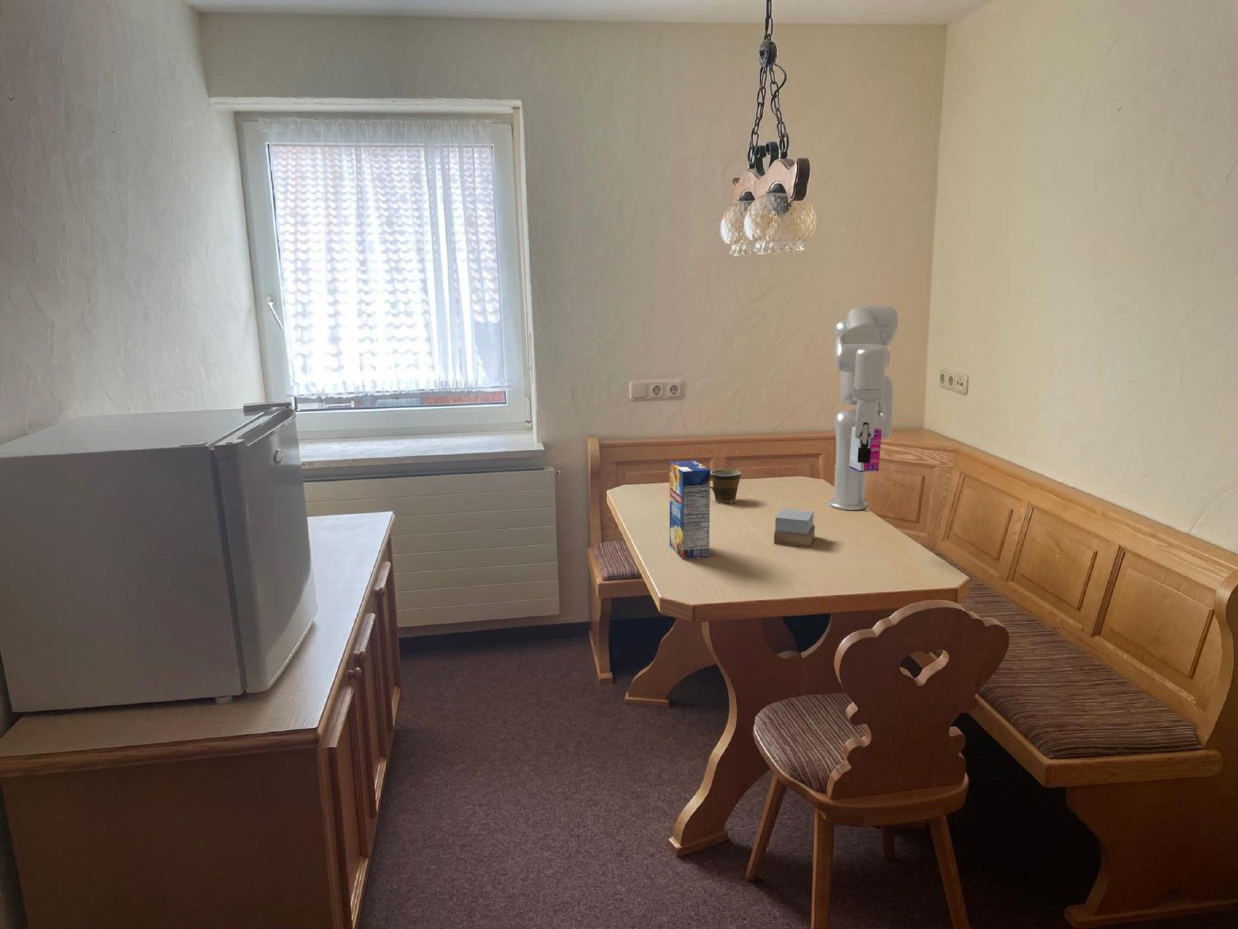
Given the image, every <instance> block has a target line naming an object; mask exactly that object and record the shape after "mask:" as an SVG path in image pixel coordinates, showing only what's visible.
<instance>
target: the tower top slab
mask: <svg viewBox="0 0 1238 929" xmlns="http://www.w3.org/2000/svg"><path fill="white" fill-rule="evenodd" d="M774 522H775V525H774V526H775V527H774V528H775V530H774V531H778V532H788V533H798V534H808V533H809V531H810V530H811V528H812V526H813V525H814V511H808V510H807V511H805V510H798V509H797V510H795V509H781V510H780V511H779V512H778V514H777V515H776V516H775V521H774Z"/></svg>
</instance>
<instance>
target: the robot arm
mask: <svg viewBox="0 0 1238 929" xmlns="http://www.w3.org/2000/svg"><path fill="white" fill-rule="evenodd" d="M898 326H899V315H898V312H897V310H896V308H894V307H893V306H890V305H859V306H856V307H853V308H852V309H851V310H850V311H849V312H848V314H847V316H846V319H844V320H839V321H838V322H837V323H836V324H835V326H834V341H835V343H834V347H833V353H834V364H835V367H836V369H837V370H838V371H840V399H841V402H842V403H843V404H845V405H849V406H856V408H855V409H852V408H851V409H843V410H841V411H839V412H838V413H837V414H836V415H835V417H834V431H835V432H834V433H835V446H836V447H835V466H834V467H835V468H834V469H835V470H834V486H833V487H834V488H833V490H834V491H833V498H831V499H829V500H828V505H829V506H830V507H831V508H835V509H839V510H845V511H861V510H865V509H867V508H869V506H870V503H869V502H868V500H865V486H866V473H867V472H858V471H855V470H853V469H851V468H849V464H850V451H851V437H852V427H855V436H854V437H855V438H857V437H859V436H860V442H859V447H858V462H859V463H870V457H871V448H870V441H871V439H872V438H873V437H874V433H875V428H877V429H880V430H882V435H881V441H882V440H883V441H885V440H888V439H889V438H890V436H891V434H892V430H893V404H894V403H893V402H894V399H893V398H894V389H893V383H892V380H891V378H890V377H889V376H885V374H886V373H885V371H886V368H887V367H888V366H889V364H890V360H891V359H890V358H891V356H890V354H891V353H890V350H889V349H888V348H887V347H888V346H889V345H891V343H892V342H893V339H894V337H895V335H896V334H897V331H898ZM868 426H869V429H868ZM862 431H863V434H862ZM869 432H870V434H869ZM867 434H868V435H869V437H868V436H867Z"/></svg>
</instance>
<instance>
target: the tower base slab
mask: <svg viewBox="0 0 1238 929" xmlns="http://www.w3.org/2000/svg"><path fill="white" fill-rule="evenodd" d="M815 530H816V524H813V526H812V528H811V530H810V531H809V533H808V534H798V533H788V532H778V531H775V530H774V533H773V534H774V535H773V544H775V545H782V546H791V545H792V546H793V547H801V546H805V547H804V548H811V547H812V544H813V542H814V539H815V534H816V533H815ZM810 546H811V547H810Z"/></svg>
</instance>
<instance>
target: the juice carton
mask: <svg viewBox="0 0 1238 929" xmlns="http://www.w3.org/2000/svg"><path fill="white" fill-rule="evenodd" d="M710 475H711V469H710V468H708V467H707V466H705V465H703V464H702V463H700V462H698V460H682V461H669V547H670V546H671V547H672V548H673V549H674V550H673V549H672V548H671V547H670V548H671V549H672V550H673V551H674V552H675V551H676V552H675V553H676V554H677V555H678V557H680V558H681V560H689V558H692V559H698V558H697V557H702V558H709V557H710V521H711V520H710V516H711V515H710V514H711V513H710V512H711V511H710V507H711V506H710V505H711V504H710V503H711V502H710V500H711V499H710V498H711V497H710V496H711V488H710V486H711V479H710Z"/></svg>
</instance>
